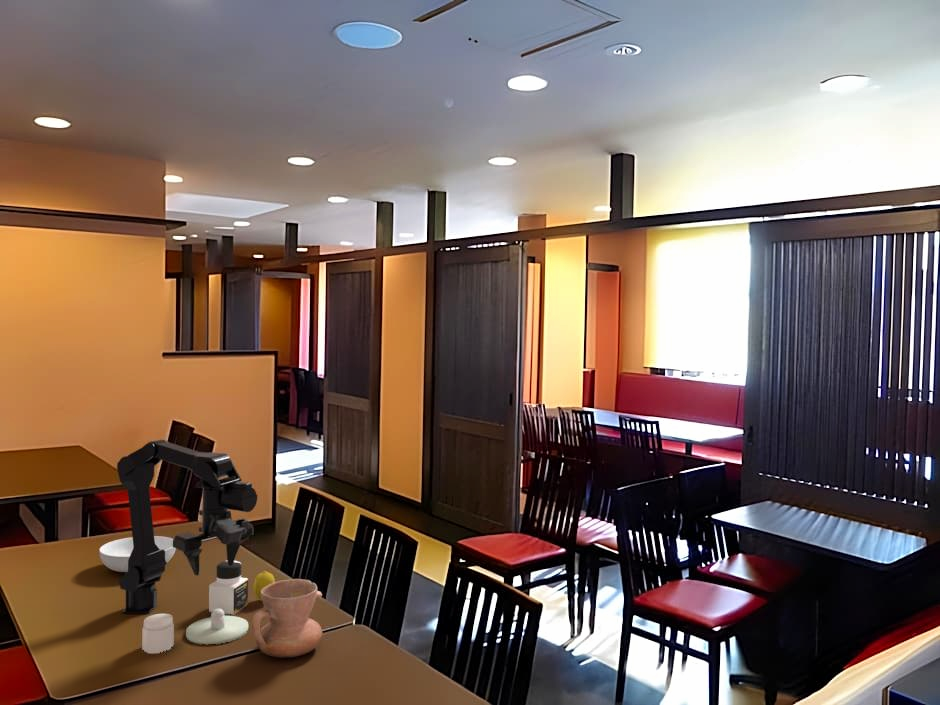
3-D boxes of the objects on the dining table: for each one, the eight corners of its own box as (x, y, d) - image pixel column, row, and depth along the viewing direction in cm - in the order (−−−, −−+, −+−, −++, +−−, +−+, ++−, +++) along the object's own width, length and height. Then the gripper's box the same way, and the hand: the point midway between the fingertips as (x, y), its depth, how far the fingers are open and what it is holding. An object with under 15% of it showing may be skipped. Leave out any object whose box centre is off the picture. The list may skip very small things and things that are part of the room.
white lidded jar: (139, 653, 159) (139, 624, 159) (149, 641, 165) (149, 613, 165) (167, 653, 160) (167, 624, 159) (176, 641, 166) (176, 613, 165)
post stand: (177, 645, 164) (177, 621, 163) (196, 619, 178) (196, 597, 177) (240, 644, 165) (240, 620, 165) (254, 619, 179) (254, 597, 178)
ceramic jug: (302, 628, 174) (301, 570, 174) (339, 646, 165) (339, 585, 164) (234, 654, 161) (233, 591, 160) (271, 675, 151) (270, 609, 151)
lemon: (279, 598, 192) (279, 569, 192) (267, 606, 187) (267, 575, 187) (261, 595, 194) (262, 566, 194) (249, 603, 189) (249, 573, 189)
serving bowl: (191, 565, 217) (191, 543, 216) (125, 586, 199) (126, 561, 199) (149, 552, 228) (149, 530, 227) (84, 570, 210) (84, 547, 210)
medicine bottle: (234, 615, 181) (234, 568, 180) (208, 612, 182) (208, 565, 182) (248, 604, 188) (248, 559, 187) (223, 602, 189) (223, 557, 189)
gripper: (199, 520, 162) (198, 589, 162) (267, 505, 176) (266, 568, 177) (172, 511, 168) (170, 577, 169) (240, 497, 183) (239, 558, 184)
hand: (213, 570), depth 175 cm, fingers open, 9 cm apart
